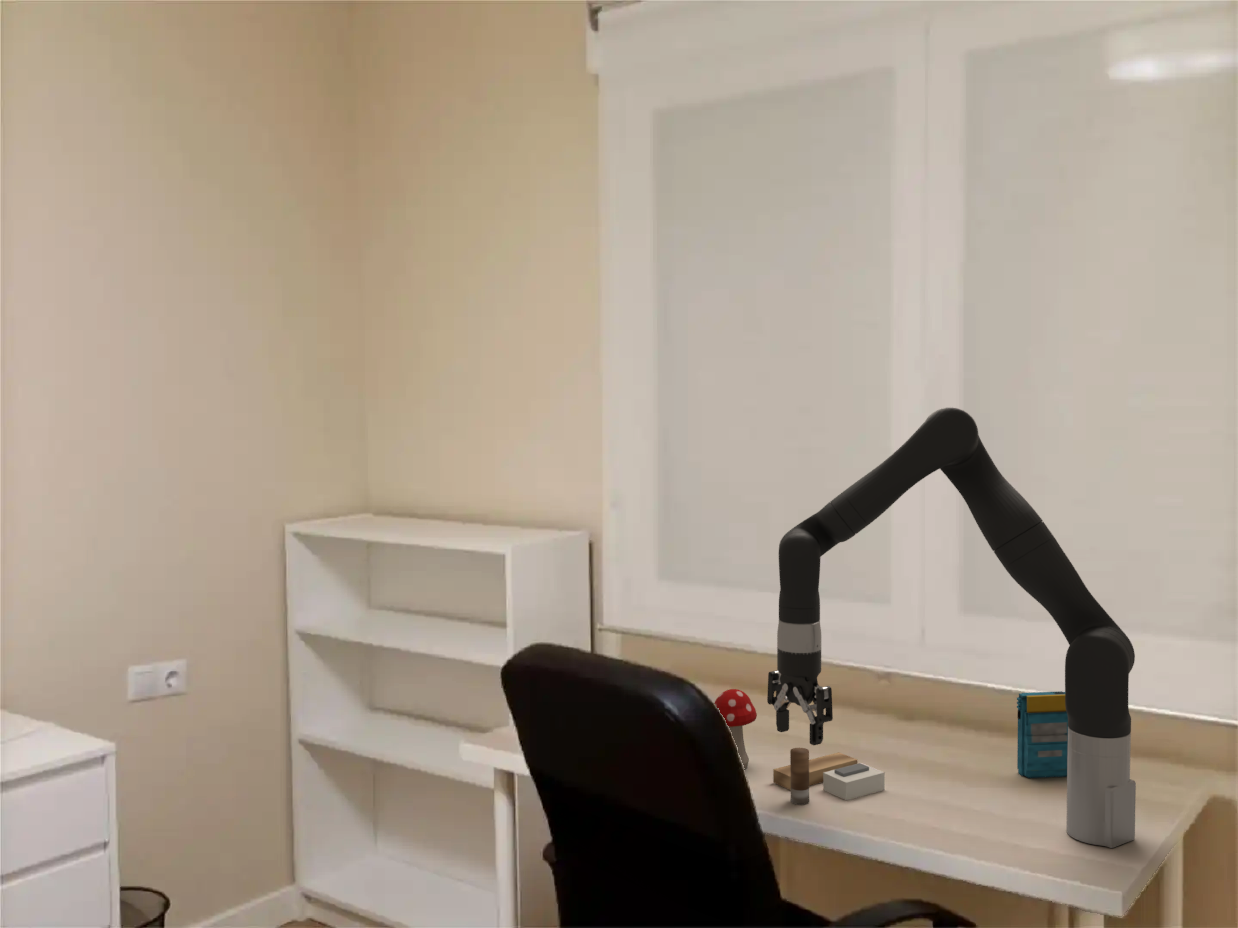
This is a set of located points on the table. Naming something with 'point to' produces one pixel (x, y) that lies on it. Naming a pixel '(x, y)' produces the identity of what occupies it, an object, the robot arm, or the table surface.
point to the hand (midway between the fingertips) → (799, 737)
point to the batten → (814, 769)
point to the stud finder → (853, 781)
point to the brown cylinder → (799, 775)
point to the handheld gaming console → (1042, 735)
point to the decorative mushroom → (737, 716)
